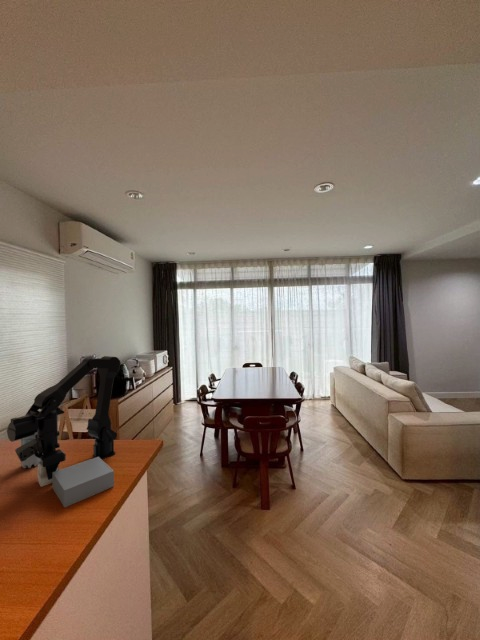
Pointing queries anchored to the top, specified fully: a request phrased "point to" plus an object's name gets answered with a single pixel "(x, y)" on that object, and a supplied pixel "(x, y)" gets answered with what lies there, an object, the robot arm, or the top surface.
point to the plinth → (82, 480)
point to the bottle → (31, 459)
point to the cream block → (43, 475)
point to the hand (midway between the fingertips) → (48, 476)
